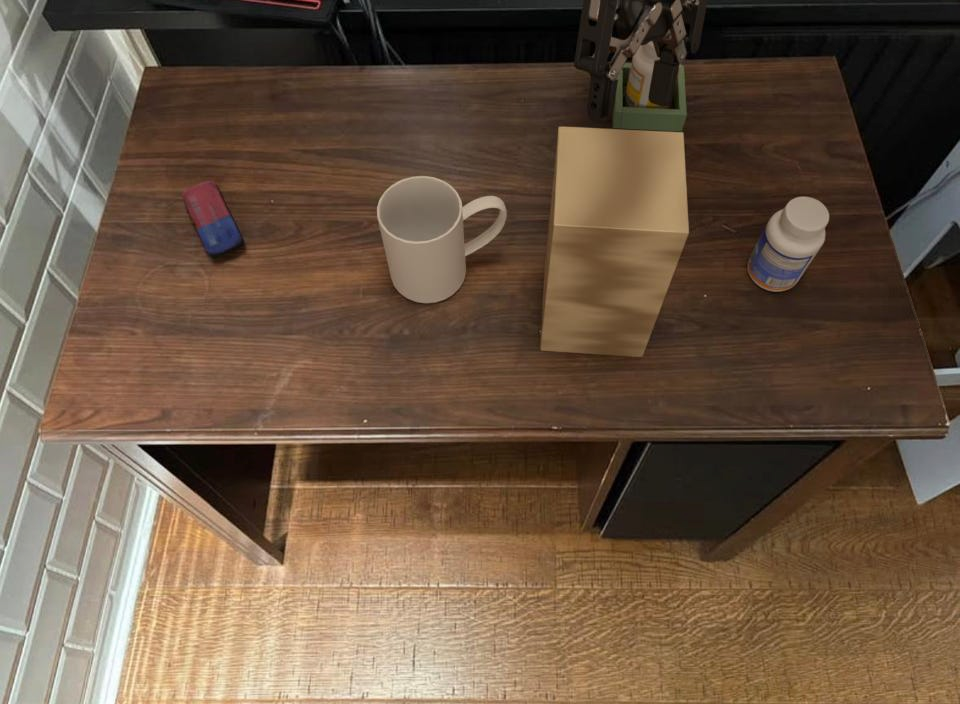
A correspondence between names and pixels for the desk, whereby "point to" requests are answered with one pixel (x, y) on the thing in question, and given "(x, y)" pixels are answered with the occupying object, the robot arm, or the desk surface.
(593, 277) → the block
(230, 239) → the eraser
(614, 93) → the robot arm
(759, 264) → the pill bottle
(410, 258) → the mug
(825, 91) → the desk surface
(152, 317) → the desk surface
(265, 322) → the desk surface
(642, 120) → the bottle holder
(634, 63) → the supplement bottle
